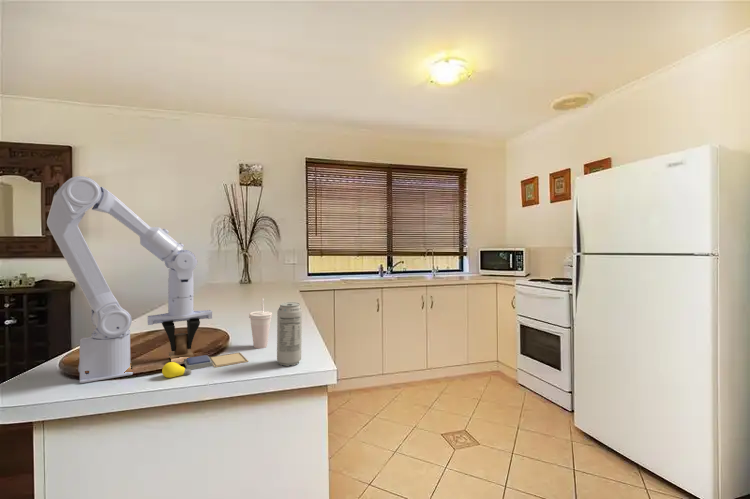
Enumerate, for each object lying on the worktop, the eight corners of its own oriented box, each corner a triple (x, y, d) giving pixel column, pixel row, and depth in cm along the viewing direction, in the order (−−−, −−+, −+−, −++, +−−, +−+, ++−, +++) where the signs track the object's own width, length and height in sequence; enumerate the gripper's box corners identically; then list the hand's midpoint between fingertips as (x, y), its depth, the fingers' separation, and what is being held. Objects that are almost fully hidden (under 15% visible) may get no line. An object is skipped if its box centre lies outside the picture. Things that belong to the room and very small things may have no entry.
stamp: (171, 364, 92) (171, 338, 92) (168, 358, 96) (168, 333, 96) (193, 360, 95) (193, 335, 95) (190, 355, 99) (190, 331, 99)
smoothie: (268, 350, 104) (268, 300, 104) (245, 349, 104) (245, 299, 104) (274, 343, 111) (275, 296, 110) (253, 343, 111) (253, 296, 110)
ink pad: (187, 370, 88) (187, 364, 88) (184, 363, 92) (184, 357, 92) (212, 366, 91) (212, 360, 91) (208, 359, 96) (208, 354, 96)
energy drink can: (302, 358, 98) (302, 301, 97) (300, 366, 92) (301, 306, 91) (278, 359, 97) (279, 301, 97) (275, 367, 91) (275, 306, 91)
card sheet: (214, 367, 90) (214, 366, 90) (208, 358, 97) (208, 357, 97) (248, 361, 95) (248, 360, 95) (240, 353, 101) (240, 352, 101)
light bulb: (159, 377, 84) (164, 360, 85) (188, 380, 87) (192, 364, 88) (160, 377, 81) (165, 360, 82) (189, 380, 84) (194, 364, 85)
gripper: (208, 292, 102) (208, 341, 103) (146, 296, 94) (146, 349, 95) (214, 295, 96) (213, 347, 97) (148, 300, 88) (148, 357, 89)
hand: (181, 349), depth 95 cm, fingers closed on stamp, 3 cm apart
